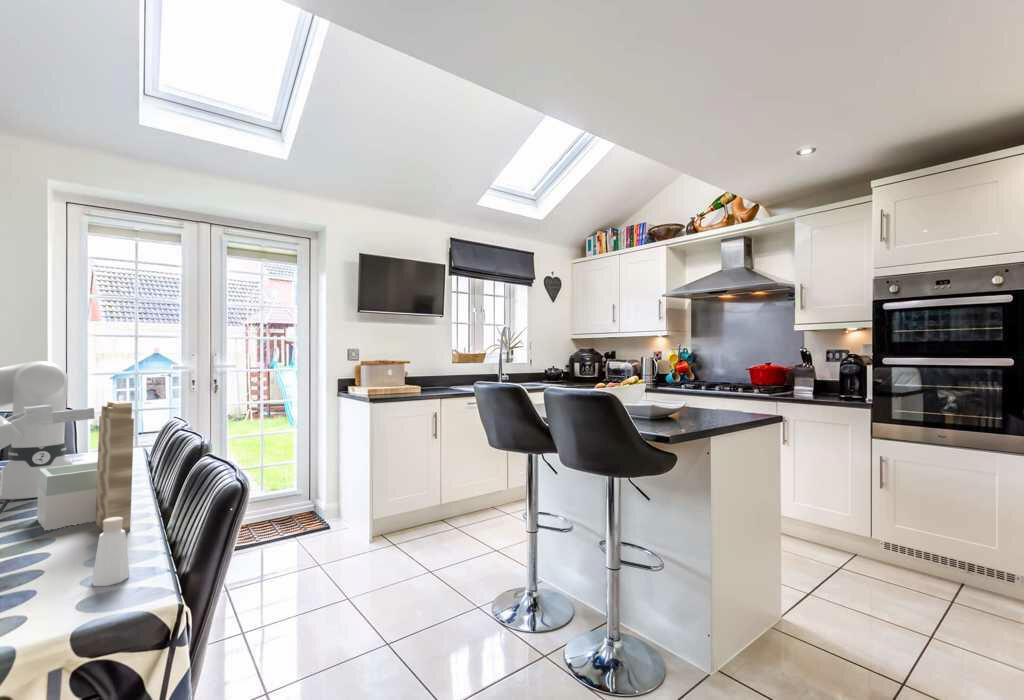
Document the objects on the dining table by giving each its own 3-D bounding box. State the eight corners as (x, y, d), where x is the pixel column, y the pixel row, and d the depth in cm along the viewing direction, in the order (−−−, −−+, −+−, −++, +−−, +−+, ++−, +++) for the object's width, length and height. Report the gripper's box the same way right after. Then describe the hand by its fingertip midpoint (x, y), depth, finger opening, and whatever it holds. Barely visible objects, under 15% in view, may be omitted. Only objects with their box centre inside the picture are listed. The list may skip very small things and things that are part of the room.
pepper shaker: (85, 589, 81) (87, 525, 82) (98, 576, 86) (100, 515, 87) (124, 583, 84) (126, 521, 84) (134, 571, 89) (136, 512, 89)
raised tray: (36, 519, 116) (38, 468, 116) (117, 505, 128) (118, 459, 128) (45, 531, 108) (47, 476, 109) (129, 514, 120) (131, 465, 121)
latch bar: (24, 425, 101) (23, 407, 101) (91, 417, 110) (90, 400, 110) (27, 427, 99) (25, 408, 99) (95, 418, 107) (94, 401, 107)
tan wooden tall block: (95, 523, 114) (99, 401, 114) (116, 519, 117) (120, 400, 118) (108, 535, 106) (112, 404, 107) (130, 530, 109) (134, 403, 110)
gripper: (-41, 457, 100) (40, 420, 109) (-35, 472, 87) (56, 428, 96) (-63, 433, 97) (21, 397, 107) (-60, 445, 85) (35, 403, 94)
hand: (38, 412), depth 102 cm, fingers closed on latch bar, 4 cm apart
